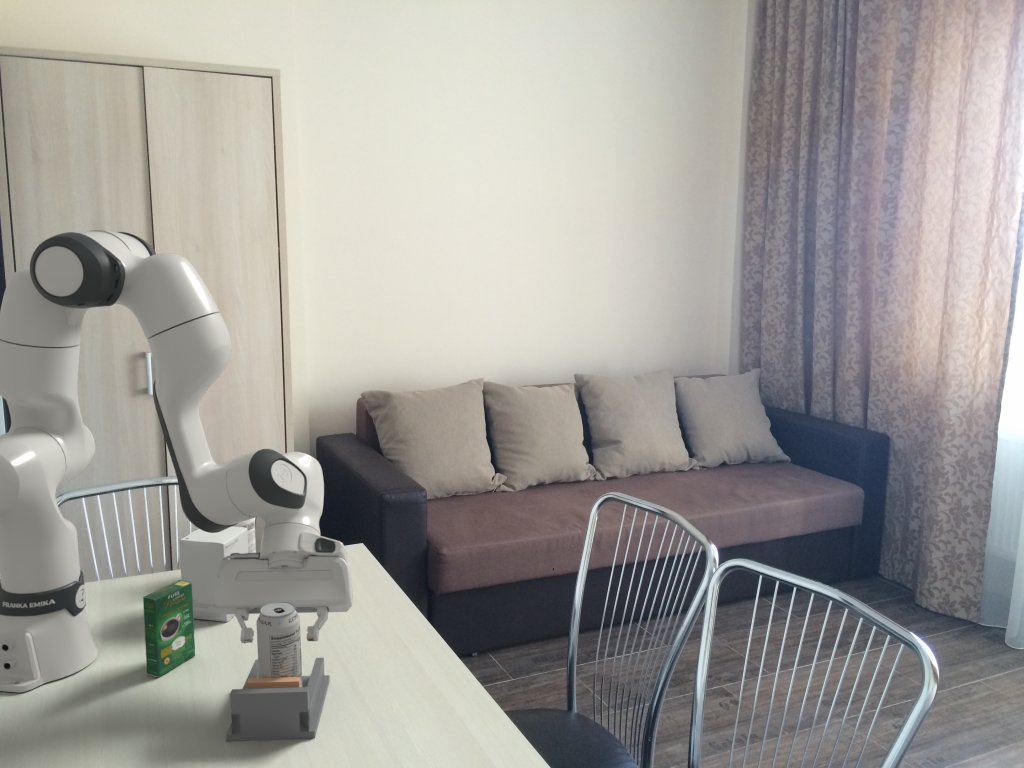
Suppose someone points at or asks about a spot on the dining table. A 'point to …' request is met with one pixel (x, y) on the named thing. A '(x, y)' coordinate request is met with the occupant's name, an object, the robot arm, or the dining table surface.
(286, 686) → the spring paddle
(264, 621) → the energy drink can
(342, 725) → the dining table surface
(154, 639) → the coffee box
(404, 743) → the dining table surface
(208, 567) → the supplement box
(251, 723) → the pusher lane
